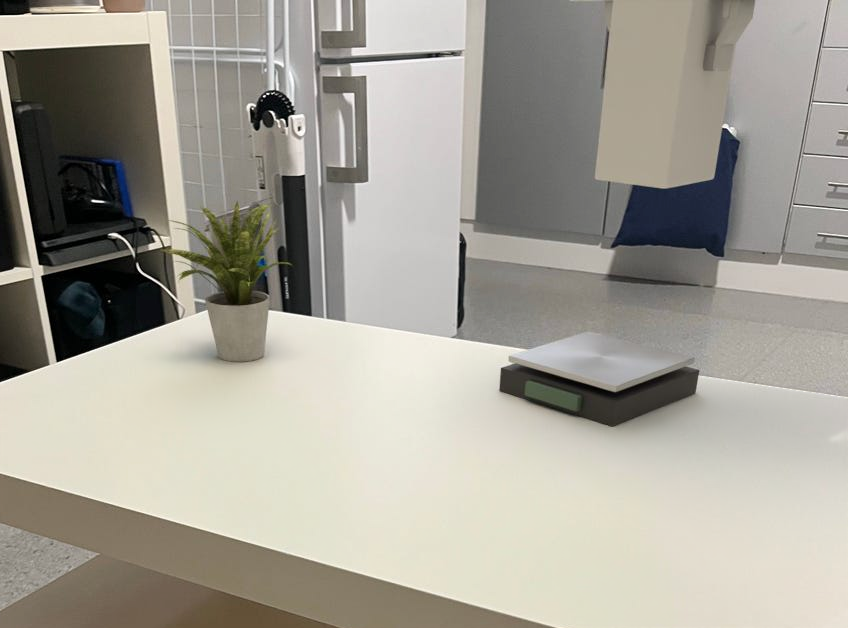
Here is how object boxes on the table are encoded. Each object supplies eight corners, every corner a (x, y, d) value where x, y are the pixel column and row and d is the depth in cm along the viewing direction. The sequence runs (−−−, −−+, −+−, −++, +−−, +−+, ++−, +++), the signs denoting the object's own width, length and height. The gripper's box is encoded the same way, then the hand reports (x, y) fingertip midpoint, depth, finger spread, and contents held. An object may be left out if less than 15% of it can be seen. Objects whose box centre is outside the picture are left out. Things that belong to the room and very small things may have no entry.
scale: (584, 362, 111) (586, 340, 110) (695, 393, 102) (699, 369, 101) (495, 392, 103) (496, 368, 101) (608, 428, 94) (611, 403, 93)
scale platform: (587, 336, 109) (588, 330, 108) (693, 363, 101) (694, 357, 100) (508, 361, 101) (508, 355, 101) (615, 392, 93) (616, 386, 93)
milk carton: (665, 191, 81) (706, -102, 71) (593, 181, 86) (622, -96, 75) (714, 181, 85) (759, -98, 75) (643, 172, 90) (676, -92, 79)
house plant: (215, 329, 123) (203, 182, 114) (321, 339, 119) (317, 188, 110) (156, 363, 111) (137, 203, 102) (271, 376, 107) (262, 210, 98)
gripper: (856, -161, 69) (810, 71, 76) (607, -134, 82) (589, 63, 89) (812, -169, 65) (768, 76, 73) (558, -140, 78) (543, 66, 85)
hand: (668, 69), depth 81 cm, fingers closed on milk carton, 7 cm apart
